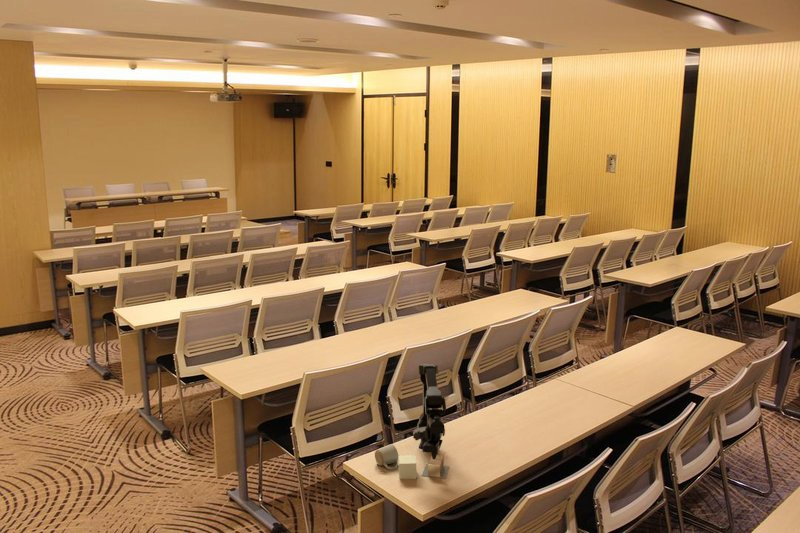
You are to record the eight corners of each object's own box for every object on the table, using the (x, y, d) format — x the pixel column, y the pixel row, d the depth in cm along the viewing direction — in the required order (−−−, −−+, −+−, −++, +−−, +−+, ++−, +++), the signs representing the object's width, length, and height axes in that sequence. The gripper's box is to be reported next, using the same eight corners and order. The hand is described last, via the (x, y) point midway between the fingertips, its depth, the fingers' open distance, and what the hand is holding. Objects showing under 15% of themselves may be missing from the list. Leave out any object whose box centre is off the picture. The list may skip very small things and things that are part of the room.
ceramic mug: (373, 462, 295) (373, 445, 293) (389, 457, 299) (389, 441, 297) (386, 473, 286) (386, 456, 284) (402, 467, 290) (402, 451, 288)
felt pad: (426, 464, 292) (426, 464, 292) (449, 466, 290) (449, 466, 290) (421, 476, 283) (421, 475, 283) (445, 478, 280) (445, 478, 280)
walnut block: (427, 475, 283) (431, 465, 291) (439, 477, 281) (443, 466, 290) (427, 464, 282) (431, 454, 290) (439, 465, 280) (443, 455, 289)
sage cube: (398, 470, 287) (398, 455, 286) (415, 470, 288) (415, 455, 286) (399, 479, 281) (399, 463, 279) (416, 478, 281) (416, 463, 279)
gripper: (419, 412, 288) (419, 446, 291) (409, 431, 270) (410, 467, 274) (445, 414, 286) (445, 449, 289) (437, 434, 268) (437, 470, 271)
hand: (434, 458), depth 281 cm, fingers closed
